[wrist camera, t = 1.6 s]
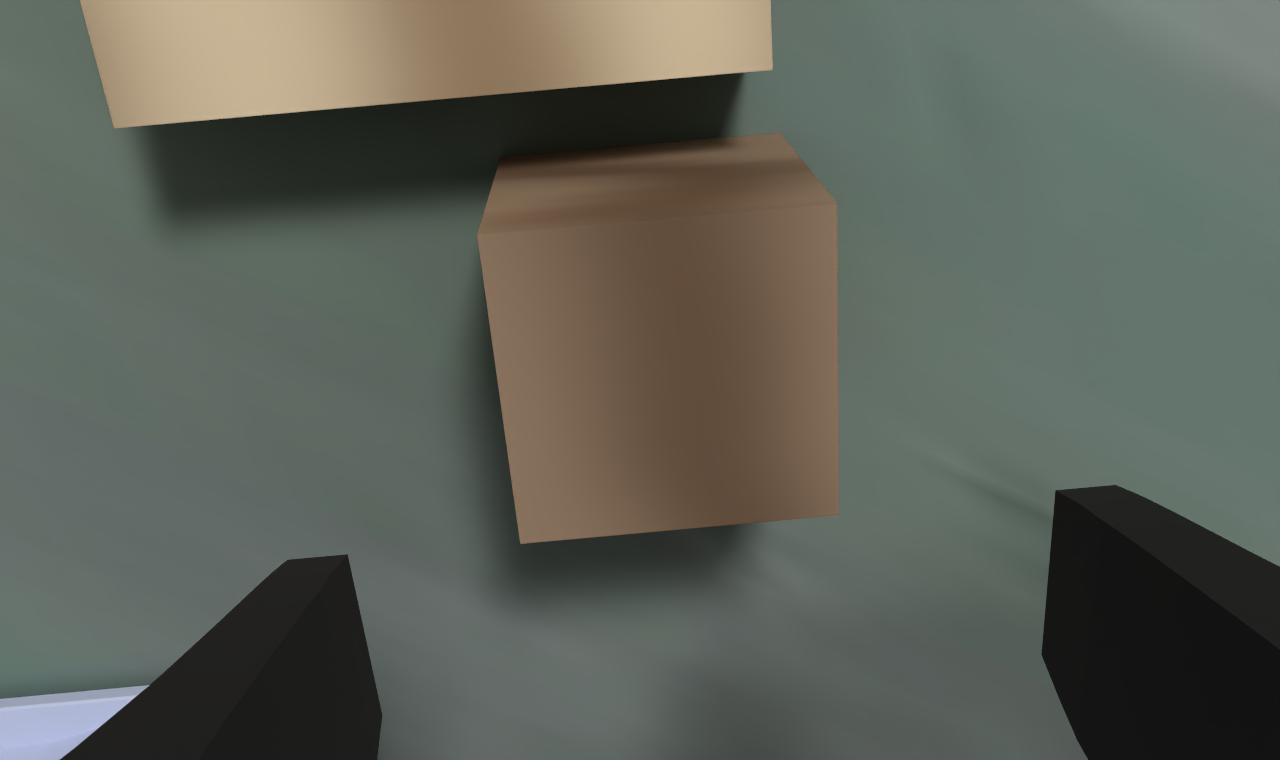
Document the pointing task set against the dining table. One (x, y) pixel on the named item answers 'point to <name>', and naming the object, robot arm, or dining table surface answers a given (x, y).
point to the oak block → (400, 50)
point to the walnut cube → (664, 336)
